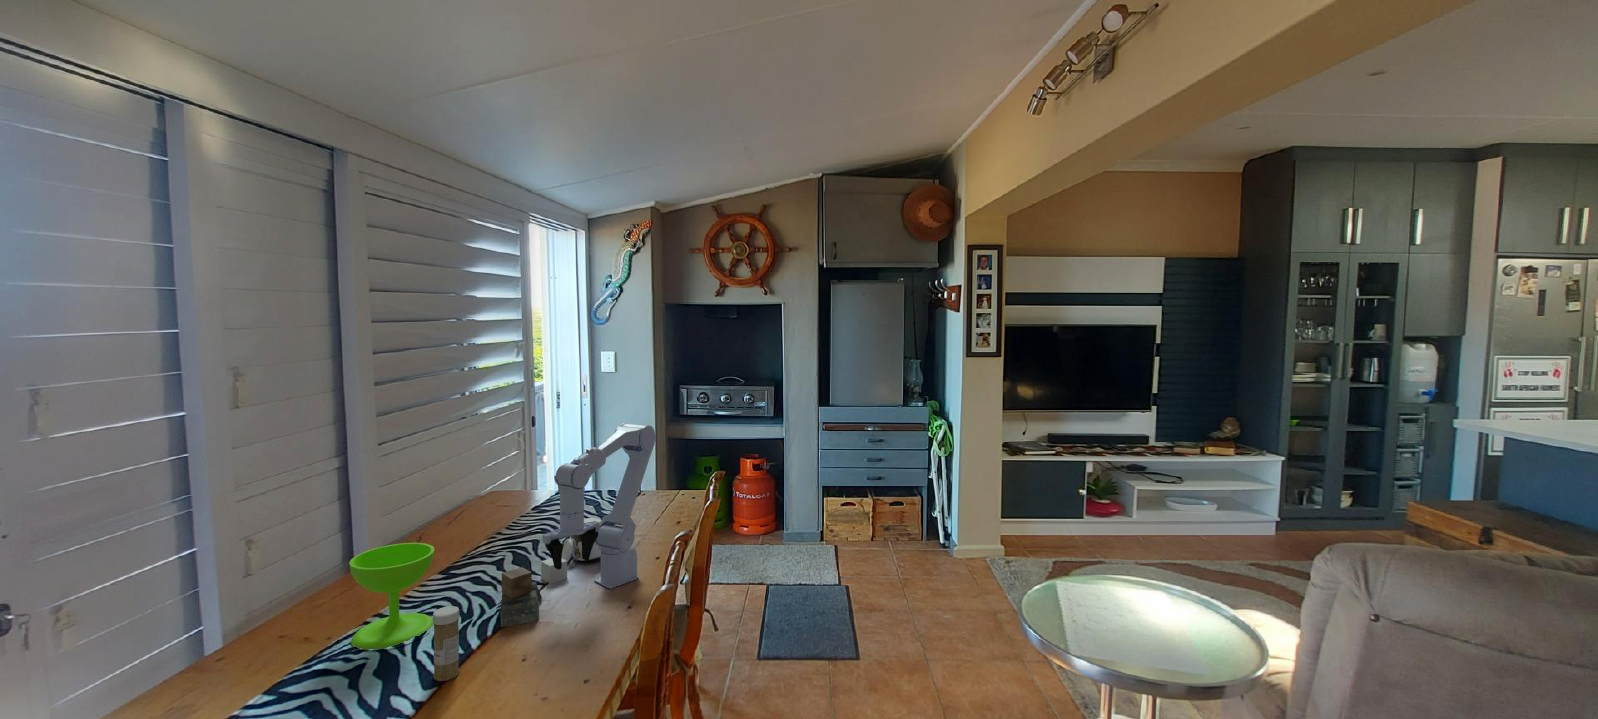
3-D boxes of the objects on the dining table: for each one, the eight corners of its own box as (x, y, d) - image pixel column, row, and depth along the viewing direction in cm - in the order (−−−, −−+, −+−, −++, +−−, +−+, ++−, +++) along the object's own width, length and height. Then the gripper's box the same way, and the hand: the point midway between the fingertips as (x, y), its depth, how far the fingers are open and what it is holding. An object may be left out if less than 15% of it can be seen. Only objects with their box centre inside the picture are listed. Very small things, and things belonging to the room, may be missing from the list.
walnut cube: (522, 586, 150) (521, 566, 150) (531, 592, 147) (531, 572, 147) (501, 593, 146) (501, 573, 146) (511, 599, 143) (511, 578, 143)
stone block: (541, 597, 156) (541, 578, 156) (541, 622, 143) (541, 601, 142) (503, 602, 152) (503, 582, 152) (499, 629, 139) (500, 607, 139)
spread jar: (609, 558, 181) (610, 521, 181) (578, 571, 172) (578, 531, 171) (584, 550, 188) (584, 514, 187) (552, 561, 178) (552, 523, 178)
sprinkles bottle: (430, 676, 119) (429, 610, 119) (454, 666, 123) (454, 602, 122) (438, 685, 116) (437, 618, 116) (463, 675, 120) (463, 610, 119)
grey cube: (558, 573, 170) (557, 556, 170) (567, 578, 167) (567, 560, 167) (541, 578, 166) (541, 561, 166) (550, 583, 163) (550, 566, 163)
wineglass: (451, 622, 141) (450, 548, 140) (385, 657, 126) (383, 574, 125) (402, 611, 146) (401, 539, 145) (332, 643, 131) (331, 562, 130)
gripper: (552, 521, 142) (552, 576, 143) (606, 508, 153) (606, 559, 154) (538, 515, 147) (538, 569, 147) (591, 502, 158) (591, 552, 159)
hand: (571, 563), depth 151 cm, fingers open, 7 cm apart
